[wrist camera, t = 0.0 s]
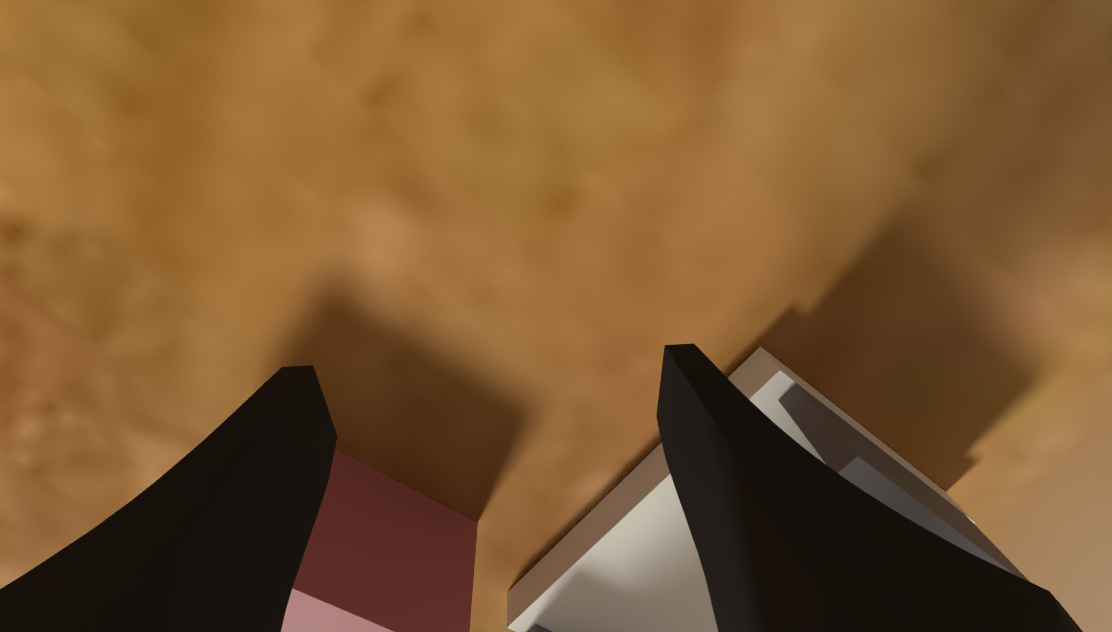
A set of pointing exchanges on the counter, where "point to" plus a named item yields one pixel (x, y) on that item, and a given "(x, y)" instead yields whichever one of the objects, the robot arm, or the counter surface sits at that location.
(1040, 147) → the counter surface
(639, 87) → the counter surface
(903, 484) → the grey open rack
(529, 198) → the counter surface
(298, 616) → the burgundy book
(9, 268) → the counter surface
